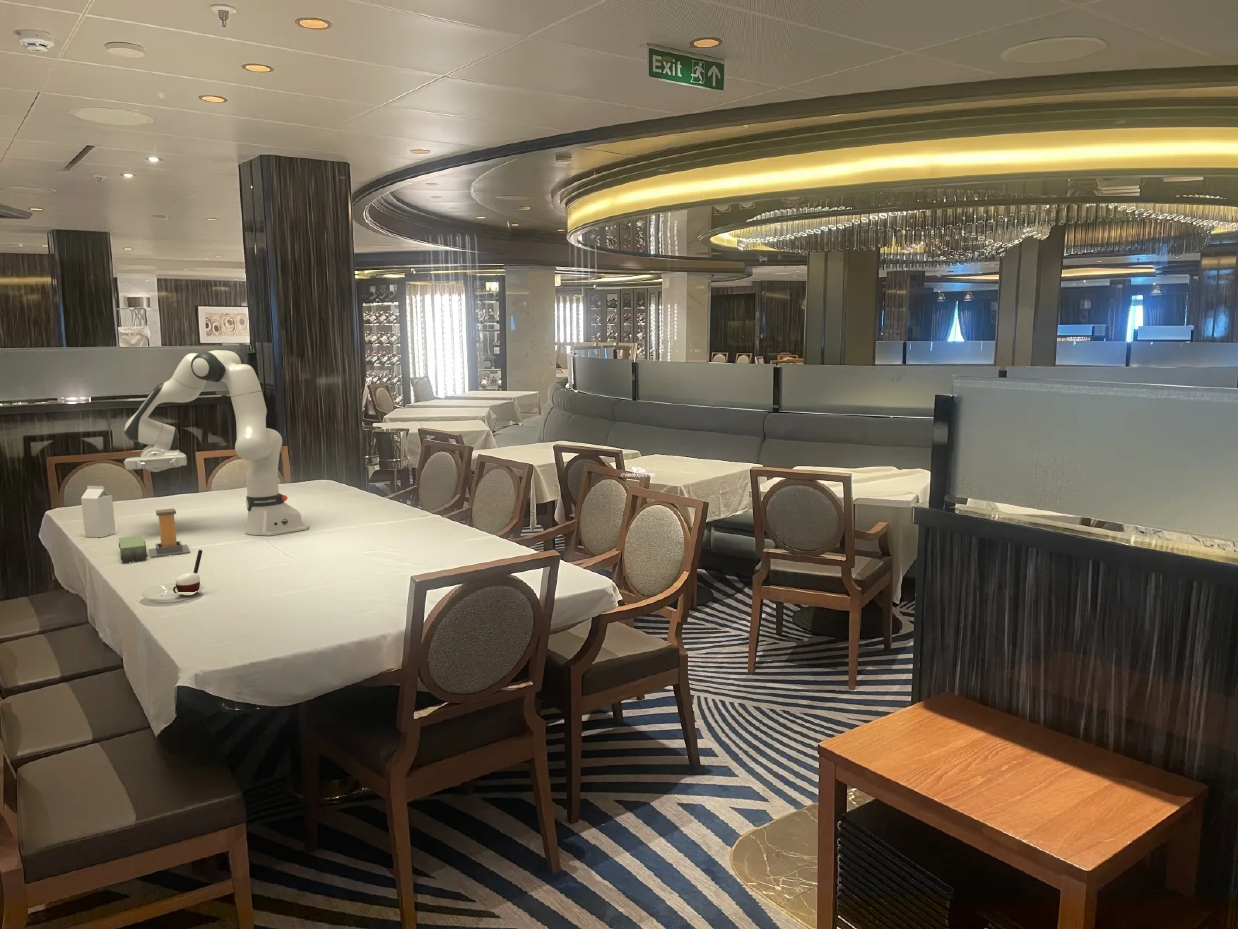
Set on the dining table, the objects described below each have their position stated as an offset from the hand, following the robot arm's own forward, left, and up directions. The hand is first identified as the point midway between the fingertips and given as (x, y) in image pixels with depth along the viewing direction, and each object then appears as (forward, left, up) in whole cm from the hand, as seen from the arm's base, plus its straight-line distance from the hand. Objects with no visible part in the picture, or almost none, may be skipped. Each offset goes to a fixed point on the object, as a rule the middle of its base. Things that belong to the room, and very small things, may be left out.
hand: (157, 464), depth 313 cm
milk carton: (+20, -21, -28) cm, 40 cm away
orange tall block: (0, +22, -27) cm, 35 cm away
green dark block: (+11, +21, -28) cm, 37 cm away
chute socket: (0, +22, -28) cm, 36 cm away
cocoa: (-1, +81, -28) cm, 86 cm away
